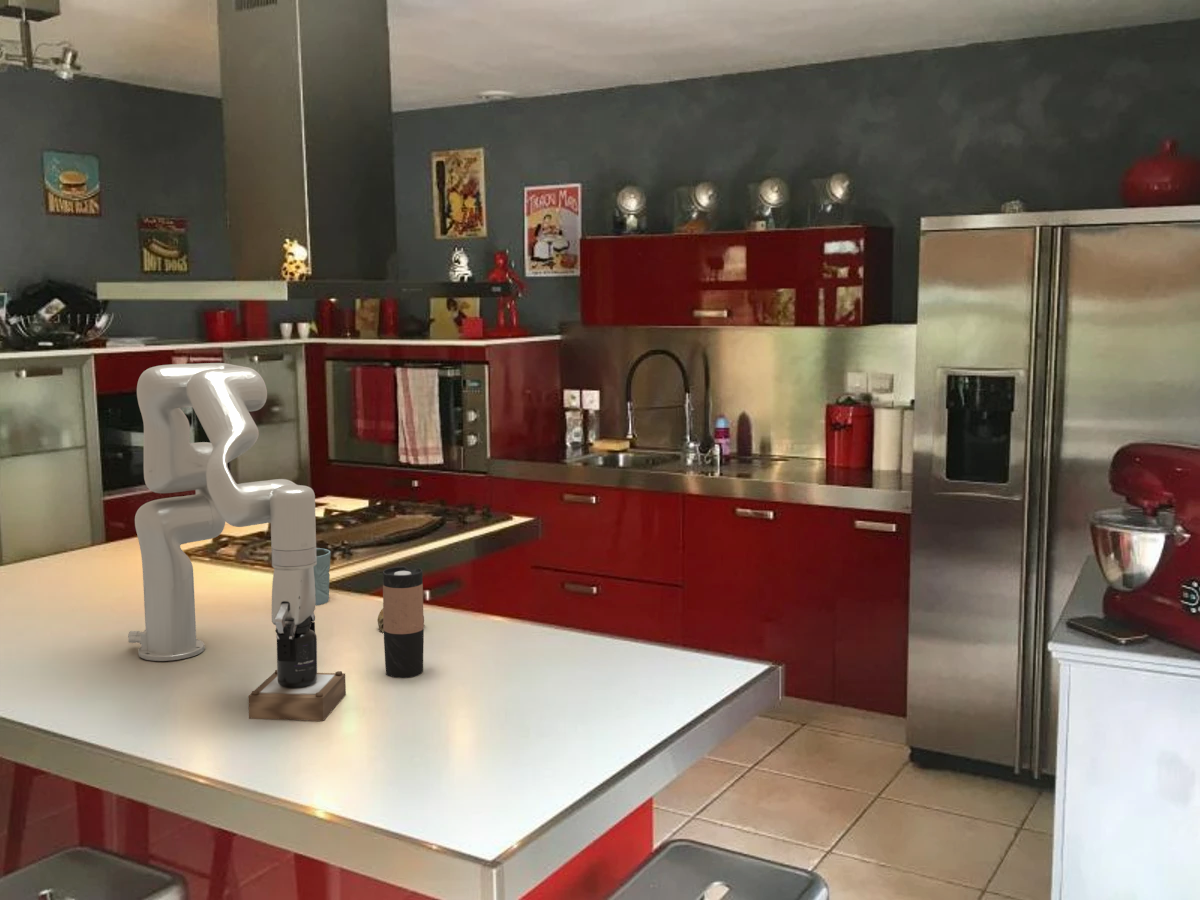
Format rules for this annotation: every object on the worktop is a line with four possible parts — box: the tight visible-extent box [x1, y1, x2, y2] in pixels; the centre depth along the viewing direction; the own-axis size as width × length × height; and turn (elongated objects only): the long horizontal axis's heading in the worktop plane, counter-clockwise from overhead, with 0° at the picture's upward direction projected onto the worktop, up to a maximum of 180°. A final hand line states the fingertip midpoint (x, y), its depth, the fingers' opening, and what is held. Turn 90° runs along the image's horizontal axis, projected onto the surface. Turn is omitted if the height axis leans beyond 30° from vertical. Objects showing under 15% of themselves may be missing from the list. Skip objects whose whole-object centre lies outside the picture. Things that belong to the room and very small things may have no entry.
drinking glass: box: [313, 547, 331, 607], centre depth 269 cm, size 10×10×12 cm
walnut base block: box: [247, 669, 347, 722], centre depth 200 cm, size 13×13×4 cm
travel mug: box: [382, 566, 425, 679], centre depth 218 cm, size 8×8×20 cm
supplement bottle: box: [276, 616, 318, 688], centre depth 199 cm, size 7×7×12 cm
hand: (297, 652), depth 199 cm, fingers open, 9 cm apart
